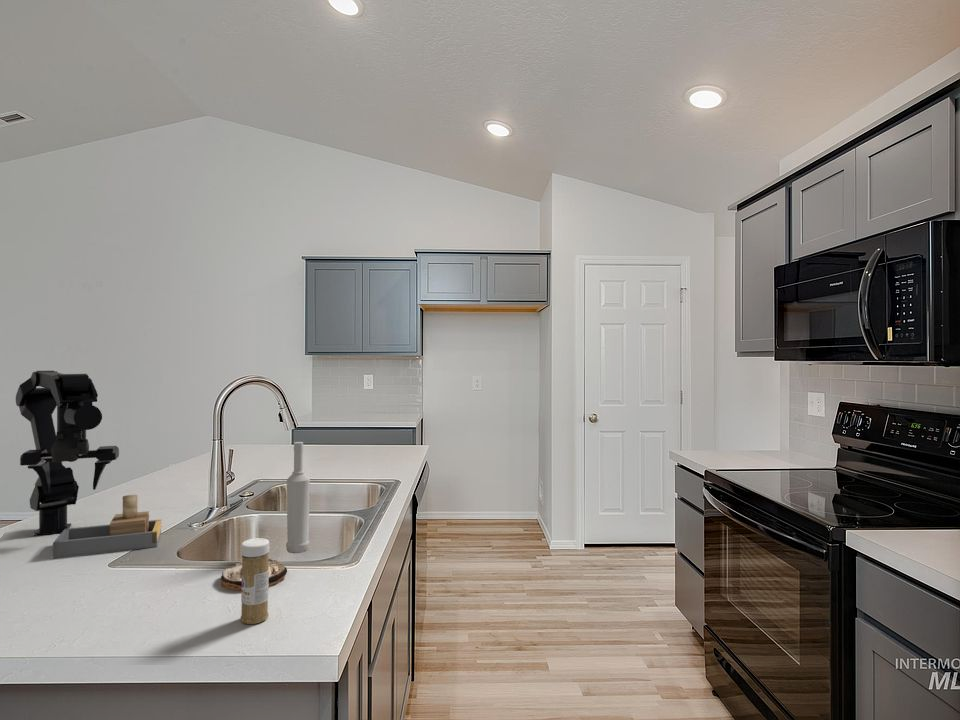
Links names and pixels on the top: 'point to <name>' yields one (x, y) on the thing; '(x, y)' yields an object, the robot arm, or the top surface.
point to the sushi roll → (234, 575)
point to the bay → (103, 540)
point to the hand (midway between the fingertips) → (71, 491)
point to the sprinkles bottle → (254, 580)
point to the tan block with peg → (129, 518)
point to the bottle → (298, 505)
